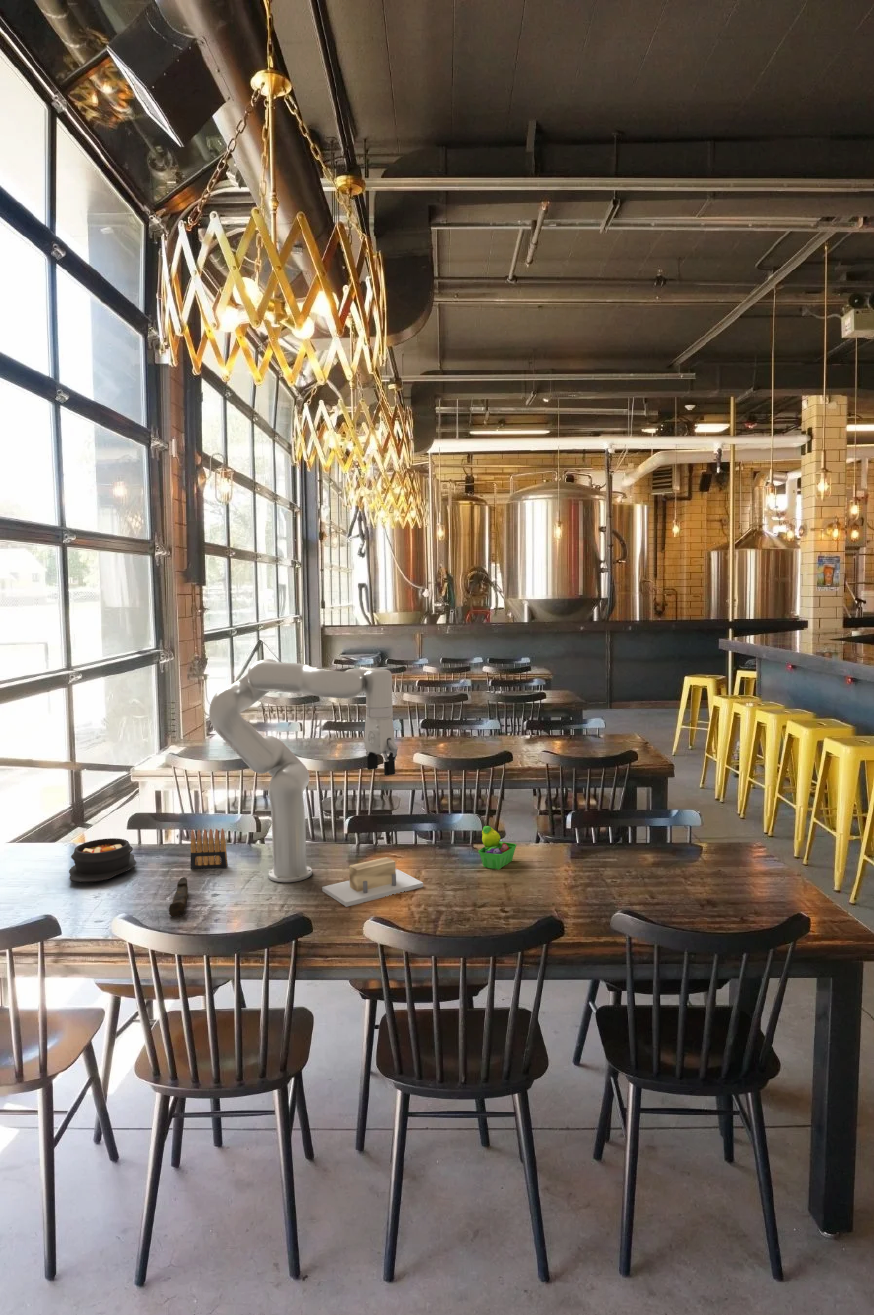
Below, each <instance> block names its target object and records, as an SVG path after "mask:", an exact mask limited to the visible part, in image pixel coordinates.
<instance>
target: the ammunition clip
mask: <svg viewBox="0 0 874 1315" xmlns="http://www.w3.org/2000/svg"><path fill="white" fill-rule="evenodd" d="M194 830H195V829H192V830H191V831H190V832H191V833H190V870H194V871H195V870H213V869H218V870H219V869H220V870H221V869H227V868H228V855H227V852H228V851H227V842H226V841H227V840H226V835H225V830H224V828H221V830H220V831H221V832H220V833H219V830H218V828H215V831H214V833H213V830H212V829H211V828H209V833H207V830H206V828H204V829H203V833H201V830H200V829H197V832H196V833H195V831H194Z"/></svg>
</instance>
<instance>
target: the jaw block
mask: <svg viewBox="0 0 874 1315" xmlns="http://www.w3.org/2000/svg"><path fill="white" fill-rule="evenodd" d="M348 869H349V872H348V874H349V875H350V877H349V880H350V887H351V888H352V889H354V890H355V891H357V892H359V891H363V881H367V887H368V889H371V888H375V887H379V886H383V885H387V884H391V883H392V874H396V869H397V868H396V861H395V860H393V859H392V858H390V857H381V858H377V859H373V860H369V861H368V860H367V861H364V862H359V863H355V864H354V863H353V864H351V865H349V866H348Z"/></svg>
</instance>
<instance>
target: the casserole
mask: <svg viewBox="0 0 874 1315" xmlns="http://www.w3.org/2000/svg"><path fill="white" fill-rule="evenodd" d="M133 849H134V848H133V847H132V846H131V845H130V842H129V840H126V839H124V838H123V839H122V838H118V837H117V838H114V837H113V838H110V837H109V838H99V839H95V840H90V841H86V842H83V843H81V844H78V845H77V846H76V847H75V848H74V850H73V852H72V854H71V856H70V858H71V859H72V860H73V863H74V865H73V866H71V867H70V868H69V870H68V873H69V881H72V882H76V883H77V882H79V883H89V882H90V883H93V882H102V881H107V880H109V879H112V878H113V877H115V876H117V875H120V874H123V873H125V872H127V871H129V870H131V869H133V868H134V867H135V866H136V865H137V861H136V859H135V855H134V854H133V853H132V851H133Z"/></svg>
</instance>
